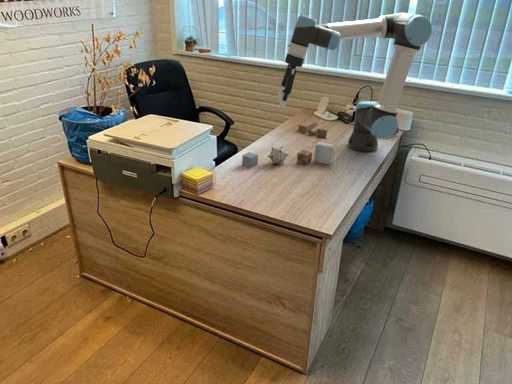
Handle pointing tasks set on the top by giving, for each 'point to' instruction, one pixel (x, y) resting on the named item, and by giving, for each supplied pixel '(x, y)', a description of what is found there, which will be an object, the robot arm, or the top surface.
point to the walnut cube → (304, 157)
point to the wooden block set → (313, 128)
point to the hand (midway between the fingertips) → (280, 104)
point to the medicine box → (324, 153)
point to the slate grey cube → (250, 160)
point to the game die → (277, 155)
